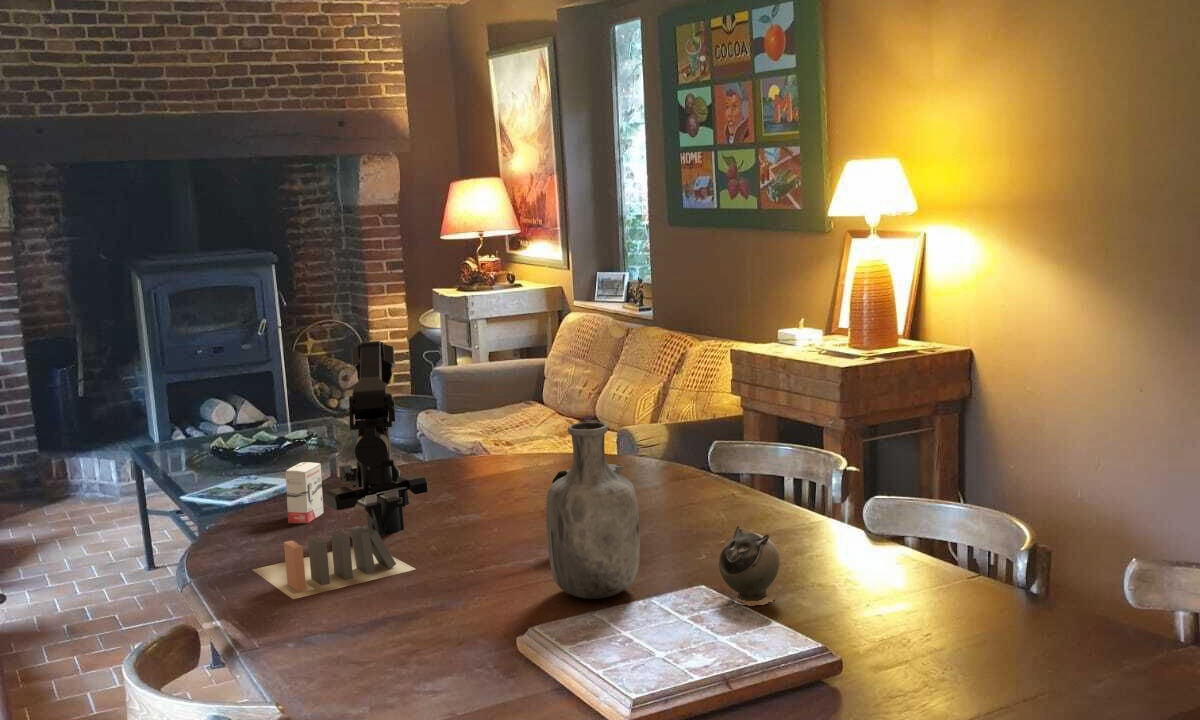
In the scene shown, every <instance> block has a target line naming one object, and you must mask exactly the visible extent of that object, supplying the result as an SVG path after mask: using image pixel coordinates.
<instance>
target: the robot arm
mask: <svg viewBox="0 0 1200 720" xmlns="http://www.w3.org/2000/svg"><path fill="white" fill-rule="evenodd" d="M351 360H352V364H351V365H352V369H353V371H355V372H356V374H357V375H356V376H357V380H358V381H357V382H356V383H355V384H353V386H352V395H349V396H348V406H349V407H348V409H349V430H350V431H356V430H357V441H356V445H355V449H354V454H355V458H356V467H355V468H354V467H352V465H351V464H348V465H344V466H343V465H342V466H340V467H339V469H338V470H339V480H340V483H341V484H349V483H350V488H349V487H347V486H341V487H338V488H333V489H331V488H330V489H328V490H327V491H326V493H325V495H324V497H325V505H326V506H327V507H330V508H332V509H334V510H336V511H342V510H347V509H352V508H355V506H357V505H358V506H359V507H362V508H363V509H364V511H365V512H367V515H366V518H367V519H366V520H367V526H368V527H370V528H372V529H374V530H376V531H377V532H378V534H379V536H380V537H382V536H383V537H384V536H385V535H390V534H395V533H399V532H401V531H405V523H404V511H403V508H406V506H408V505H410V500H409V491H410V492H411V493H412V494H414V495H420V494H424V493H428V492H429V491H430V490H429V482H428V480H427V478H426V477H425V476H423V475H420V474H417V473H415V472H414V473H409V474H405V475H404V474H403V475H401V474H400V473H401V472H400V471H401V470H400V468H399V467H398V465H397V464H396V463H395V461H394V460H393V458H392V451H391V438H390V437H391V436H390V428H393V422H396V405H395V402H396V401H395V398H394V397H393V395H392V393H390V392H388V389H387V388H388V385H389V383H390V380H391V379H392V377H393V369H395V368H396V355H395V350H394V347H393V345H389V344H385V343H384V341H381V340H371V341H362V342H360V343H357V346H355V347H354V348H352V349H351ZM352 488H359V489H354V490H353V489H352Z"/></svg>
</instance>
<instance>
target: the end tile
mask: <svg viewBox="0 0 1200 720" xmlns="http://www.w3.org/2000/svg"><path fill="white" fill-rule="evenodd" d="M283 549H284V560H285V561H284V562H286V573H287V584H288V585H289V586H291V587H292V588H294V589H295V590H297V591H301V590H305V589H306V580H305V569H304V558H305V557H304V551H303V550H304V547H303V546H302V545H301V544H299V543H297V542H296V541H294V540H287V541H284V542H283Z"/></svg>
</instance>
